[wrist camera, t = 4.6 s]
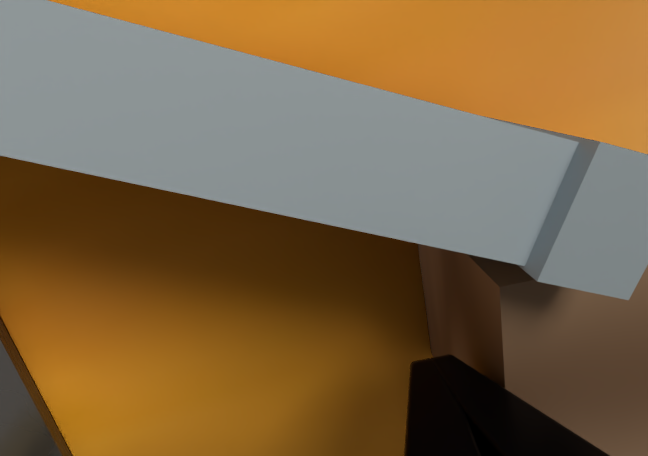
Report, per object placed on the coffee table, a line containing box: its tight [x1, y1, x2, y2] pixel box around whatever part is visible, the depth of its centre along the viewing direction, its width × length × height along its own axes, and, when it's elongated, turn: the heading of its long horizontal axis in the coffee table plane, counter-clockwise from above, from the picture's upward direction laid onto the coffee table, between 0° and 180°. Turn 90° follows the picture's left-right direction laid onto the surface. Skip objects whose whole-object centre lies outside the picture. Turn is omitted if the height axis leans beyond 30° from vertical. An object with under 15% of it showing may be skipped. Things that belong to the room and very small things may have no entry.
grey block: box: [0, 0, 648, 300], centre depth 6 cm, size 12×2×5 cm, turn 76°
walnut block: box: [418, 244, 648, 456], centre depth 9 cm, size 4×4×4 cm
